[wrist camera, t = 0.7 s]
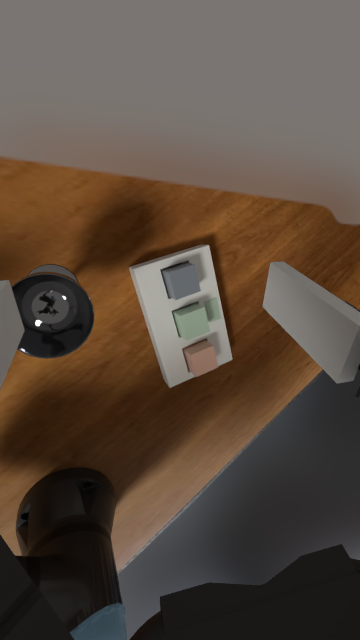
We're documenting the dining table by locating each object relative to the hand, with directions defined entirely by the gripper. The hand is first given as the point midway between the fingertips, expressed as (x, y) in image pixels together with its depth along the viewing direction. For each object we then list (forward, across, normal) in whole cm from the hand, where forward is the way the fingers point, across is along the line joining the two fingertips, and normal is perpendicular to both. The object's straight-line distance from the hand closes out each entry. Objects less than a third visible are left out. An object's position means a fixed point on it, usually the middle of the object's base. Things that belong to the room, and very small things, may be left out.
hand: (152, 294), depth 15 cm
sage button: (+25, -8, +17) cm, 31 cm away
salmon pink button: (+23, -10, +23) cm, 34 cm away
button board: (+27, -8, +18) cm, 33 cm away
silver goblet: (+26, +10, +11) cm, 30 cm away
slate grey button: (+26, -7, +11) cm, 29 cm away
